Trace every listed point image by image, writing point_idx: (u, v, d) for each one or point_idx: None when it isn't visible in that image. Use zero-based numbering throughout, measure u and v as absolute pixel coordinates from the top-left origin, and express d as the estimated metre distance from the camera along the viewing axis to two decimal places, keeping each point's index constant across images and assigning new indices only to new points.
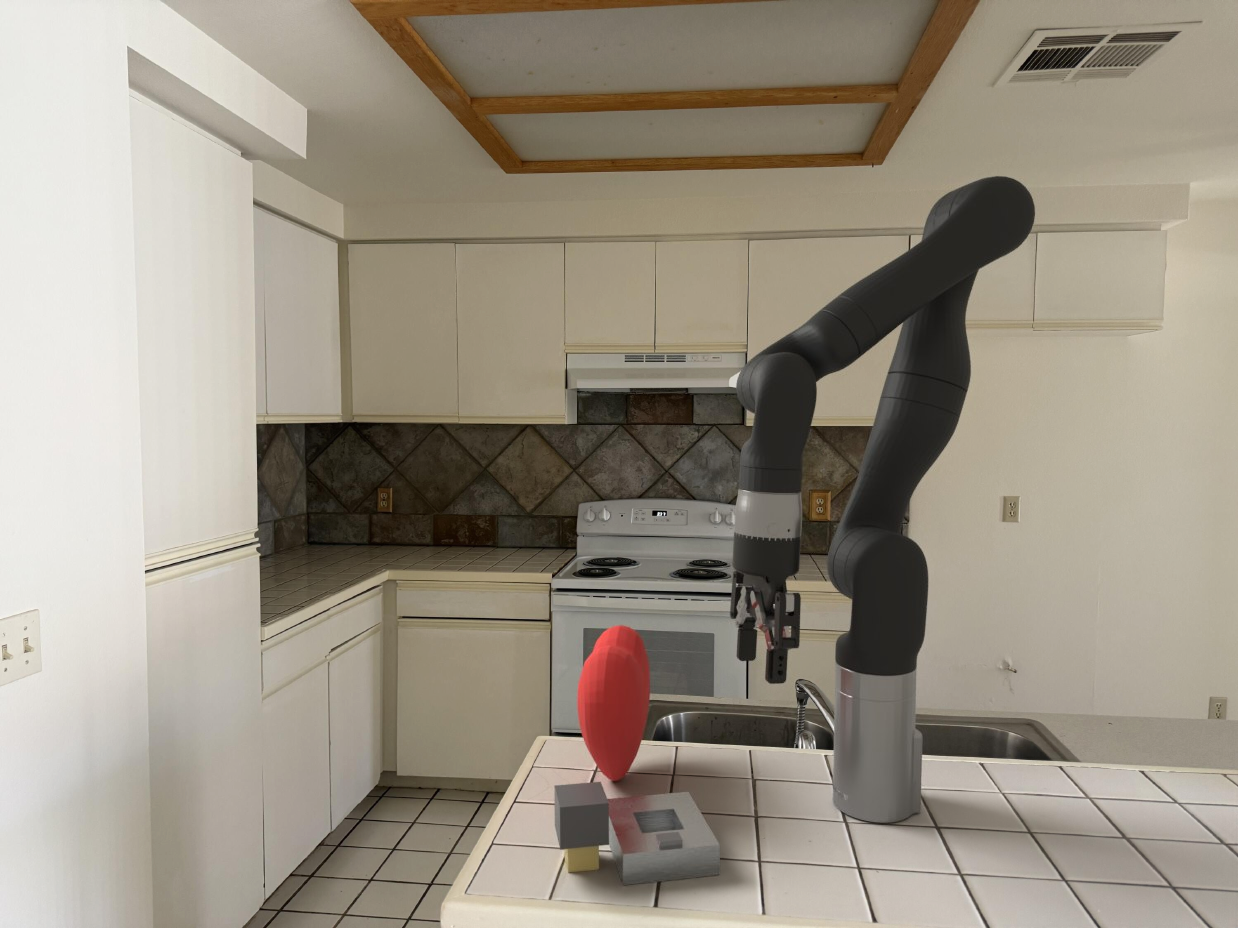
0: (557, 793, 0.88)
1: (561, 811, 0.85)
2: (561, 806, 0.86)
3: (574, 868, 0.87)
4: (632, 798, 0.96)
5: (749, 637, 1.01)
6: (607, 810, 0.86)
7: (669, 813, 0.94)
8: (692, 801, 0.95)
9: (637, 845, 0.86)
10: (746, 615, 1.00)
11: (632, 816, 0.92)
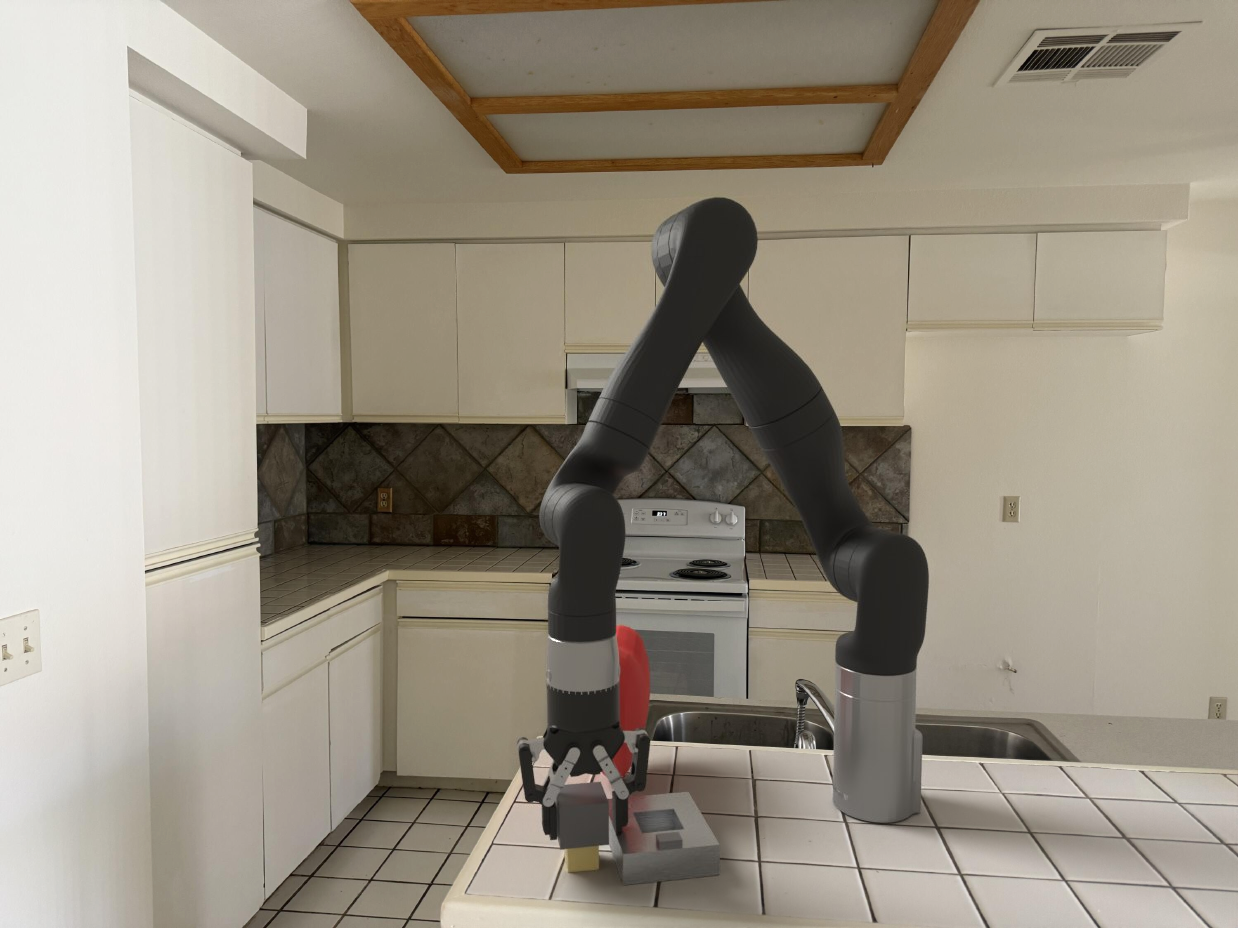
0: None
1: (561, 811, 0.85)
2: (561, 806, 0.86)
3: (574, 868, 0.87)
4: (632, 798, 0.96)
5: None
6: (607, 810, 0.86)
7: (669, 813, 0.94)
8: (692, 801, 0.95)
9: (637, 845, 0.86)
10: None
11: (632, 816, 0.92)
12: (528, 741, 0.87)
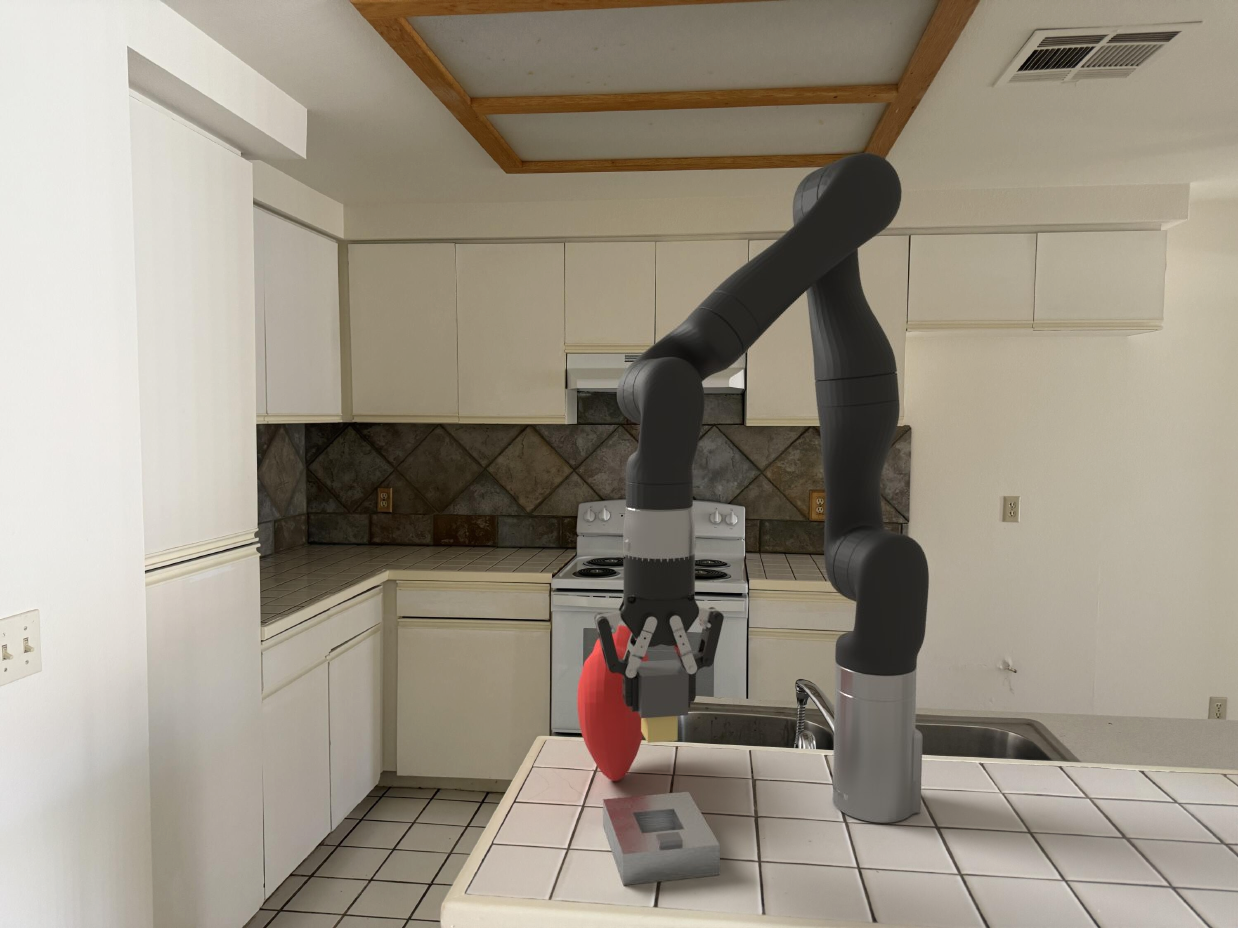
0: None
1: (642, 680, 0.87)
2: (642, 675, 0.87)
3: (653, 739, 0.89)
4: (632, 798, 0.96)
5: None
6: (687, 681, 0.88)
7: (669, 813, 0.94)
8: (692, 801, 0.95)
9: (637, 845, 0.86)
10: None
11: (632, 816, 0.92)
12: (605, 615, 0.89)
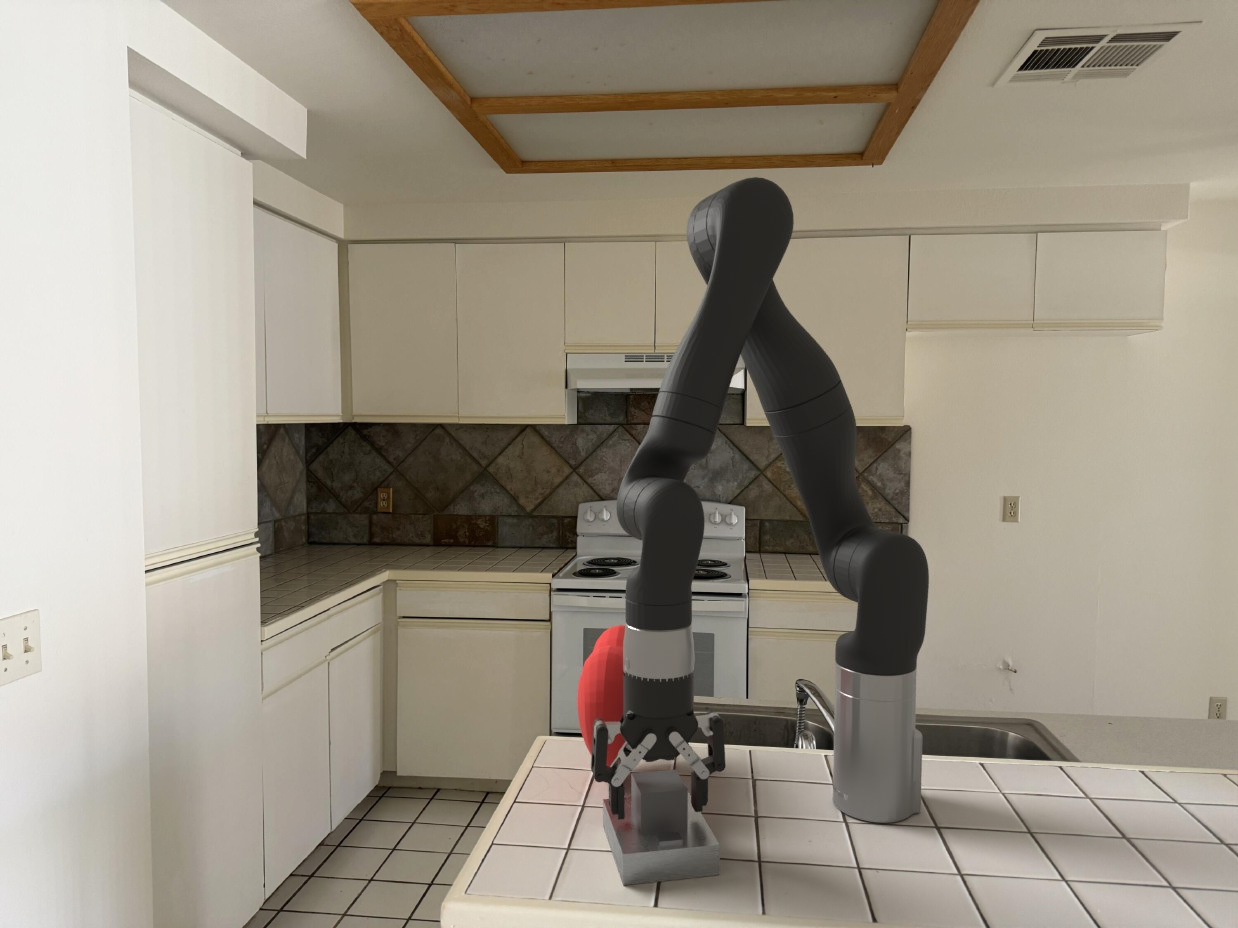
0: (635, 780, 0.91)
1: (642, 797, 0.88)
2: (642, 792, 0.88)
3: None
4: None
5: None
6: (686, 796, 0.89)
7: None
8: None
9: (637, 845, 0.86)
10: None
11: (632, 816, 0.92)
12: (606, 723, 0.89)
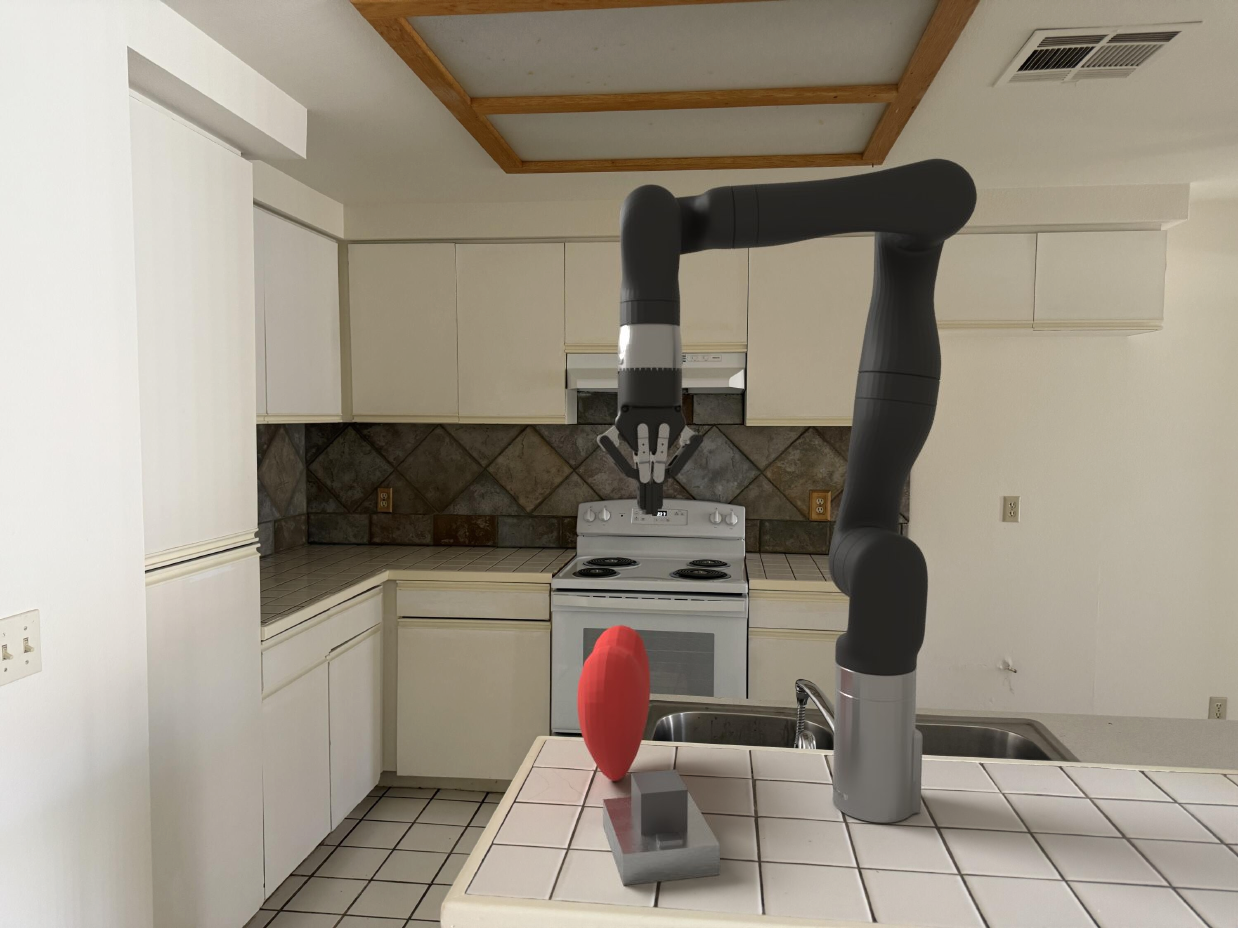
0: (635, 780, 0.91)
1: (642, 797, 0.88)
2: (642, 792, 0.88)
3: None
4: None
5: None
6: (686, 796, 0.89)
7: None
8: (692, 801, 0.95)
9: (637, 845, 0.86)
10: None
11: (632, 816, 0.92)
12: (604, 434, 0.98)
